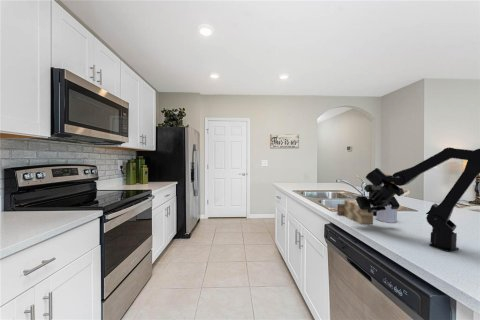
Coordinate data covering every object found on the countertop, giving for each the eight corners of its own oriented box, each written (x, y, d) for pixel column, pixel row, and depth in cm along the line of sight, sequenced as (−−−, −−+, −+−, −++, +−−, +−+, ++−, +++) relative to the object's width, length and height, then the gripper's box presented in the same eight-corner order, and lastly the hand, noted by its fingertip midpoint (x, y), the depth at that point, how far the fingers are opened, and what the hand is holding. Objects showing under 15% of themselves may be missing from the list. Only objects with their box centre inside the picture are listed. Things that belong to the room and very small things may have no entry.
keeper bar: (372, 224, 115) (373, 206, 115) (361, 224, 114) (362, 206, 114) (354, 215, 131) (354, 200, 130) (344, 215, 130) (344, 200, 130)
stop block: (356, 215, 131) (357, 205, 131) (340, 215, 130) (340, 205, 130) (353, 214, 134) (353, 204, 134) (337, 214, 133) (337, 204, 133)
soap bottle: (372, 219, 124) (374, 174, 124) (383, 217, 128) (385, 173, 128) (389, 223, 116) (391, 175, 116) (400, 221, 120) (402, 175, 119)
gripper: (395, 179, 109) (378, 198, 120) (358, 179, 107) (344, 198, 118) (409, 199, 101) (389, 217, 112) (369, 199, 99) (353, 217, 110)
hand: (368, 212), depth 113 cm, fingers closed
